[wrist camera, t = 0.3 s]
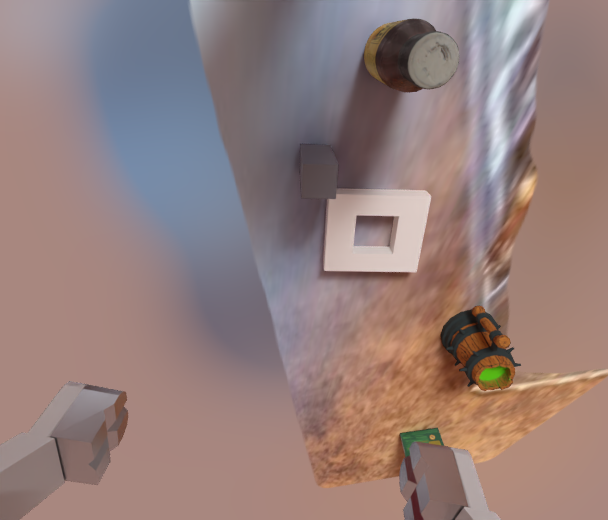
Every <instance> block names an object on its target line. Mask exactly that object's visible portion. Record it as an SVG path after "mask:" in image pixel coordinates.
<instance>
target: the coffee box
mask: <svg viewBox="0 0 608 520" xmlns="http://www.w3.org/2000/svg"><path fill="white" fill-rule="evenodd" d="M400 437H401V441H402V446H403V450H404V454H405V457H407V456H409V455H410V450H409V448H410V446H411V444H412V443H413V442H415V441H417V442H423V443H429V444H436V445H442V446H444V444H443V441H442V439H441V435H440V433H439V430H438V428H434V429H427V430H420V431H414V432H406V433H400Z"/></svg>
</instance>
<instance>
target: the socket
mask: <svg viewBox="0 0 608 520" xmlns="http://www.w3.org/2000/svg"><path fill="white" fill-rule="evenodd" d="M430 201H431V195H430V194H429V193H428V192H427V191H426V190H386V189H343V188H337V192H336V199H327V206H326V222H325V237H324V252H323V267H324V271H368V272H417V267H418V262H419V257H420V252H421V246H422V241H423V236H424V231H425V226H426V221H427V216H428V211H429V206H430ZM356 215H362V216H394V219H393V226H392V232H391V239H390V245H389V247H387V246H353V244H354V234H355V225H356Z"/></svg>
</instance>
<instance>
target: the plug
mask: <svg viewBox="0 0 608 520" xmlns="http://www.w3.org/2000/svg"><path fill="white" fill-rule="evenodd" d="M338 166H339V165H338V162H337V160H336V157H335V155H334V152H333V150H332V147H331V145H323V144H300V185H301V198H305V199H336V192H337V179H338Z"/></svg>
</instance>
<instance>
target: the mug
mask: <svg viewBox="0 0 608 520" xmlns="http://www.w3.org/2000/svg"><path fill="white" fill-rule="evenodd" d="M500 327H501V326H500V325H499V326H498V324H497V323H496V322H495V320H494V319H493V318H492V316H491V315H490V314H488V313H486V312H485V309H484V308H483V307H482V306H476V307H474V308H473V309H472V310H469V311H464V312H460V313H459V314H457V315H455V316H454V317H452V318H450V319H449V321H448V322H447V323H446V324H445V325H444V326H443V329H442V332H441V340H442V344H443V346H444V347H445V348H446V350H447V351H448V352H449V353H452V355H453V356H454V357H455V359H456V360H457V362H456V363H455V366H456V365H458V364H459V363H461V364H462V365H463V366H464V367H465V368H462V369H459V371H465V373H466V375H467V377H468V378H469V380H470V382H469V384H468V385H467V386H468V387H469V386H470V385H472V384H473V383H475V384H476V385H478V386H479V388H480V389H481V390H483V391H486V390H494V389H499V388H500V389H501V390H502V389H505V388H508V387H510V385H511V384H512V383H513V380H512V379H513V377H514V375H515V368H514V367H516V366H521V364H517V363H515V362H514V360H513V357H512V355H511V353H510V352H511V351H512V350H513V349H514V348H510V349H508V350H506V349H505V348H507V347H509V345H510V343H511V342H510V339H509V338H508V337H507V336H506V335H502V333H501V332H500V331H498V329H499V328H500Z"/></svg>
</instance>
